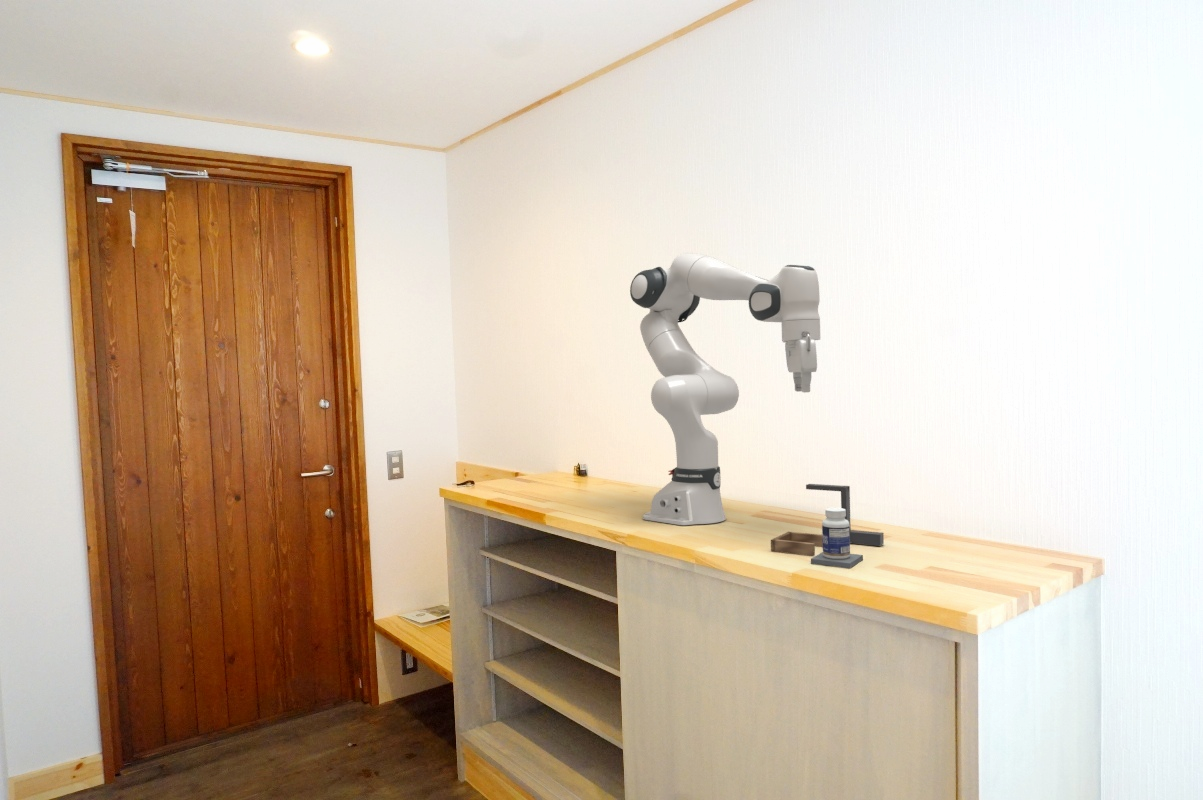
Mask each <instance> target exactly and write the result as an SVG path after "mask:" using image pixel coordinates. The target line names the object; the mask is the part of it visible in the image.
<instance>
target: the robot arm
mask: <svg viewBox="0 0 1203 800" xmlns="http://www.w3.org/2000/svg"><path fill="white" fill-rule="evenodd" d="M629 288H630V289H629V292H630V298H631V300H632V302H634V304H636V305H637V306H639V307H641V308H643V309H649V313H647V314H646V315H645V316H644V317H643V318H642V320H641V321H640V326H639V329H640V333H641V338H642V340H643V343H644V345H645V347H646V350H647V352H648V353H649V355H650V357H651V359H652V361H653V363H654V365H655V367H656V368H657V371H658V372H659V373H660V374H661V376H663V377H662V378H659V379H657V380H656V381H655V382H654V384H653V386H652V389H651V392H650V399H651V404H652V406H653V408H654V410H655V411H656V412H657V413H658V414H659V415H660V416H662V417H663V418H664V419H665V420H666V421H667V422H666V423H668V426H669V427H670V429H671V431H672V433H673V436H674V441H675V442H674V443H675V450H676V451H675V452H676V453H675V454H676V467H674V468H672V469H671V470H668V476H671V481H670V482H668V483H666V485H664V486H663V488H660V490H659V491H657V492H656V493H655V494H654V495H653V496H652V500H651V506H650V511H647V512H645V513H644V514H643V515H642V520H645V521H652V522H658V523H665V524H672V525H676V526H678V525H679V526H691V525H704V524H705V525H706V524H707V525H708V524H717V523H720V522H724V521H726V520H727V518H726V517H727V516H726V514H725V510H724V506H723V501H722V496H721V495H722V494H721V483H722V481H721V478H722V477H721V466H719V442H718V438H717V436H716V435H715V434H714V433H713V432H711V431H710V430H709V429H707V428H706V427H705V426H704V424H703V422H702V418H701V416H705V415H718V414H722V413H725V412H728V411H731V410H733V409H734V408H735V407H736V405H737V403H738V400H739V397H740V394H739V393H740V390H739V386H738V384H737V382H736V380H735V379H734V378H733V377H731V376H729V375H727V374H724V373H722V372H720V371H719V370H717V369H716V368H714V367H713V366H711V365H710V364H709V363H707V362H706V361H705V360H704V359H703V358H702V357H701V356H699V354H697V352H696V351H695V350H694V348H693V347H692V345H691V344H690V342H689V340H688V339H687V338H686V336H685V334H684V333H683V331H682V329H681V328H680V326H679V323H682V322H685V321H686V320H688V318H689V317H690V316H691V315H693V313H694V312H695V311H696V309H697V308H698V306H699V305H700V300H701V299H706V300H711V301H748V309H749V312H750V313H751V316H752V317H753V319H755V320H757V321H760V322H764V323H765V322H766V323H781V341H782V343H784V348H785V349H784V350H785V351H784V352H785V358H786V359H785V360H786V368H787V371H788V373H792V378H793V384H794V391H795V392H801V393H810V392H811V383H812V373H816V372H817V371H818V370H817V368H818V358H817V357H818V356H817V343H816V341H819V340H821V318H820V317H821V316H820V315H819V305H820V302H821V300H820V283H819V277H818V274H817V271H816V269H815V268H814V267H812V266H810V265H799V264H787V265H784V266H783V267H782V268H781V269H780V271H779V272H778V273H777V274H776V275H775V276H773V277H772V278H770V279H765V278H763V277H762V278H761V277H760V276H759V277H758V276H756V275H753V274H751V273H749V272H747V271H744V270H742V269H739V268H737V267H735V266H732V265H731V264H729V263H726V262H724V261H722V260H720V259H718V258H714V257H712V256H709V255H707V254H706V255H705V254H702V253H695V252H683V253H680V254H679V255H677V256H676V257H675V258H674V259H673V260H672V262H671V265H670V266H669V268H667V269H663V268H662V267H661V266H657V267H654V268H652V269H651V268H650V269H645V270H641V271H639V272H638V273H637V274H636V275H635V276H634V277H633V279H632V280H631V283H630V287H629Z"/></svg>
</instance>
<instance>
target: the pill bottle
mask: <svg viewBox="0 0 1203 800" xmlns="http://www.w3.org/2000/svg"><path fill="white" fill-rule="evenodd" d="M824 513H825V514H824V515H825V517H826V518H825V519H823V520H822V524H821V530H822V533H821V535H822V539H823V547H822V552H823V556H824V557H826V558H830V559H846V558H849V557H850V554H851V543H850V526H851V523H850V524H849V521H848V520H846V519H845V517H846V510H845V509H843V508H841V507H827V508H825V512H824Z"/></svg>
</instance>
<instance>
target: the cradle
mask: <svg viewBox="0 0 1203 800" xmlns="http://www.w3.org/2000/svg"><path fill="white" fill-rule="evenodd" d="M816 547H819V548H823V539H822V534H819V533H807V532H798V531H796V532H795V531H787V532H784V533H783V534H781V535H778V536H776V537H774V538H772V539H770V552H773V553H784V554H785V553H786V554H793V555H800V556H809V557H815V556H816V552H815V549H816Z"/></svg>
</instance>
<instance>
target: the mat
mask: <svg viewBox="0 0 1203 800" xmlns="http://www.w3.org/2000/svg"><path fill="white" fill-rule="evenodd" d="M863 560H864V555H863V554H857V553H856V554H855V553H850V557H849V558H846V559H830V558H826V557H824V556H823V551H822V552H820V553H818V554H816V555H814V556H812V557H811V558H810V564H811V565H821V566H826V567H836V568H845V569H852V568H853V567H855V566H856V565H857V564H859V563H860V562H862V561H863Z"/></svg>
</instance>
